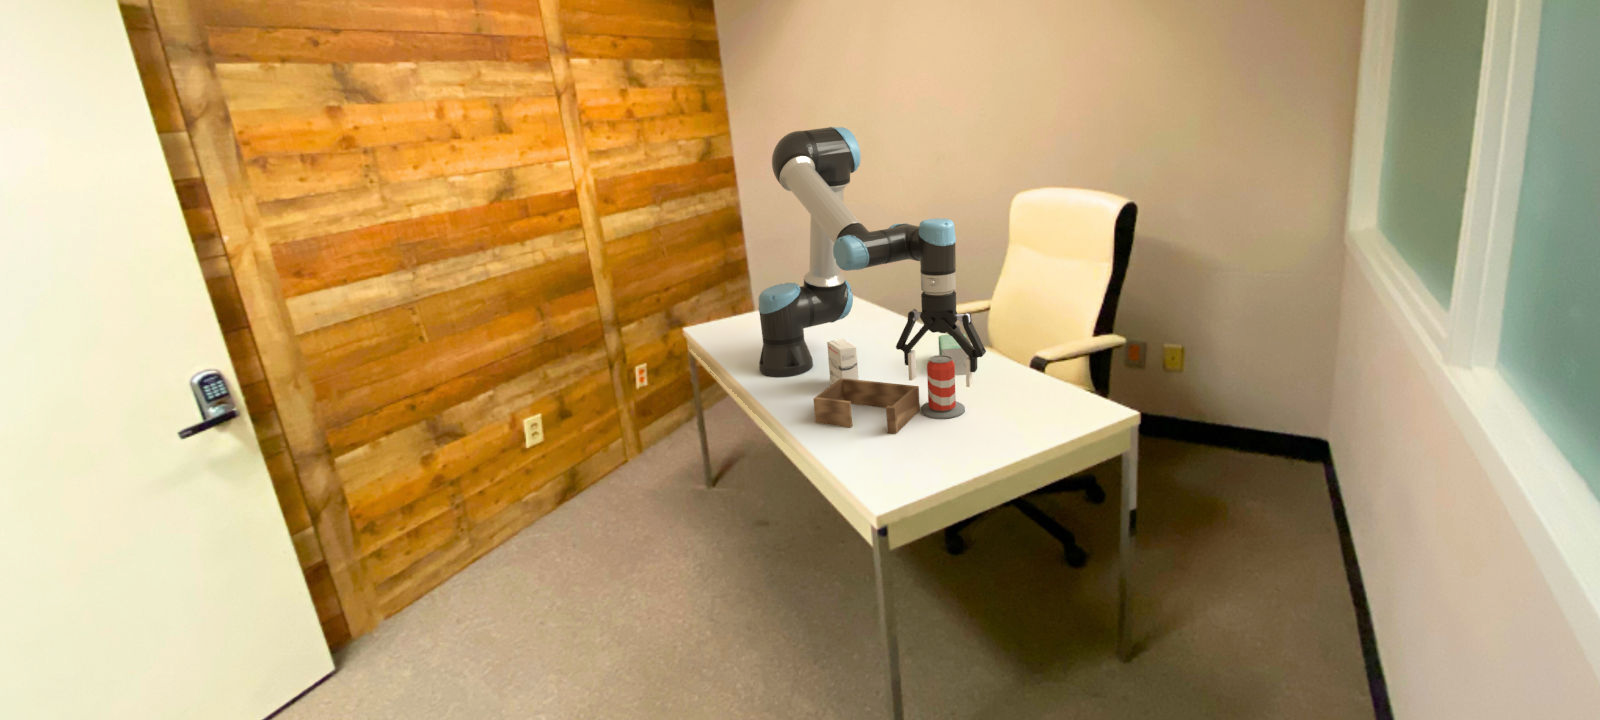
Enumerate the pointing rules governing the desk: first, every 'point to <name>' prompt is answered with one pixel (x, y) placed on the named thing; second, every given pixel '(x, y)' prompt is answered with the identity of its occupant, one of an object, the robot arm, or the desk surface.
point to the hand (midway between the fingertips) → (940, 381)
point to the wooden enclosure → (867, 402)
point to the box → (953, 353)
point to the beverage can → (941, 383)
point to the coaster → (943, 415)
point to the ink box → (842, 360)
